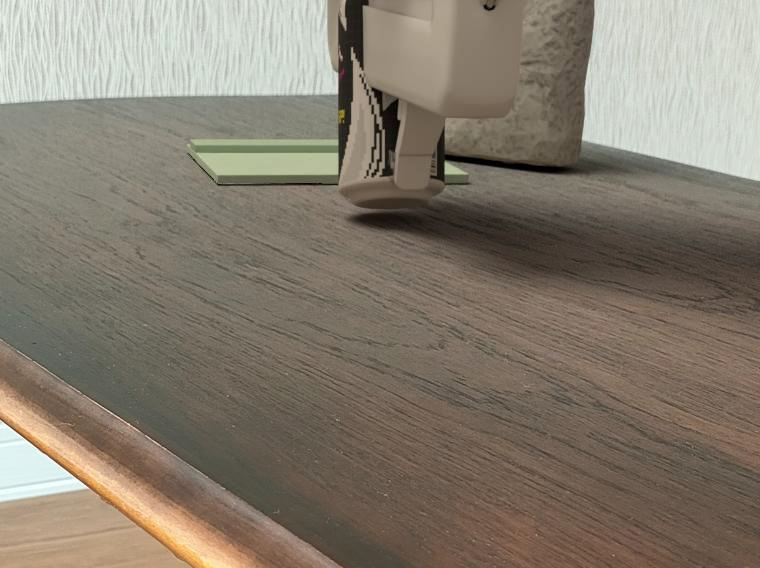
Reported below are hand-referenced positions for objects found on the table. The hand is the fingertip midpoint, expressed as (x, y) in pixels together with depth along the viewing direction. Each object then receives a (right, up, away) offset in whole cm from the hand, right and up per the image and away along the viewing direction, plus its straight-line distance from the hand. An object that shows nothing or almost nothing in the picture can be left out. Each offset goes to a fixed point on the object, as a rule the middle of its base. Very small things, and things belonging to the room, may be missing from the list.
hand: (403, 184), depth 76 cm
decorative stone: (+10, +7, +23) cm, 26 cm away
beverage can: (0, -1, +3) cm, 3 cm away
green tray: (-3, +6, +19) cm, 20 cm away
